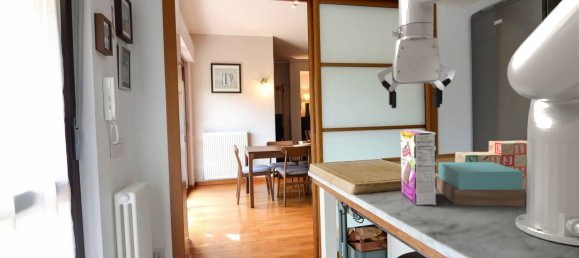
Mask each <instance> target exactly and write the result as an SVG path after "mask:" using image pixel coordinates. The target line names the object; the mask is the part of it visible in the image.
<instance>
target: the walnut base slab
mask: <svg viewBox="0 0 579 258" xmlns="http://www.w3.org/2000/svg"><path fill="white" fill-rule="evenodd" d="M436 191H438V192H439V193H440V194H441V195H442V196H444V197H445V199H447V200H449V201H450V202H451V203H452V204H453V205H454V206H455V205H457V206H459V205H460V206H492V207H493V206H495V207H497V206H502V207H525V205H526V189H523V190H459V189H457V188H455V187H454V186H452V185H450V184H449V183H447V182H445V181H444V180H442V179H440V178H439V176H436Z"/></svg>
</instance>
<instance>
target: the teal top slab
mask: <svg viewBox="0 0 579 258" xmlns="http://www.w3.org/2000/svg"><path fill="white" fill-rule="evenodd" d="M438 177H439V178H440V179H442V180H444V181H445V182H447V183H449V184H450V185H452V186H454V187H455V188H457V189H459V190H524V189H523V171H519V170H516V169H513V168H510V167H506V166H503V165H500V164H497V163H493V162H455V161H453V162H452V161H451V162H450V161H449V162H445V161H443V162H442V161H440V162H439V161H438Z"/></svg>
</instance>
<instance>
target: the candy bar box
mask: <svg viewBox="0 0 579 258" xmlns="http://www.w3.org/2000/svg"><path fill="white" fill-rule="evenodd" d="M399 132H400V133H399V135H400V136H399V138H400V140H399V141H400V167H401V170H400V171H401V173H400V174H401V175H400V180H401V183H400V185H401V194H402V195H404V197H406V198H407V199H408V200H410V202H412V203H413V204H414V205H416V206H419V207H420V206H437V203H438V202H437V145H436V144H437V142H436V141H437V138H436V137H437V133H436V132H433V131H427V130H421V129H402V130H399Z"/></svg>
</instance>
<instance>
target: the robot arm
mask: <svg viewBox="0 0 579 258" xmlns="http://www.w3.org/2000/svg"><path fill="white" fill-rule="evenodd" d="M480 1H481V0H398V28H397V29H396V30H393V31H392V33H391V36H392V37H393V38H397V40H396V41H395V45H394V51H393V57H392V65H391V66H389V67H387V68H385V69H384V70H382V71H380V72H379V73H377V75H376V76H377V79H378V81H379V82H380V84H381V86H382V87H383V88H384V89H385V90H386V91H387V92H388V106H390V107H391V109H397V91H396V88H397V87H398V86H399V85H406V84H408V85H409V84H410V85H411V84H415V85H417V84H430V85H432V87H433V88H434V90H433V94H432V95H433V96H432V98H433V99H432V104H433V105H432V107H433V108H434V109H435V108H436V109H437V108H438V109H439V108H441V105H443V90H445V88H447V86H448V85H450V84H451V83H452V80H453V78H454V77H455V75H456V70H454V69H452V68H450V67H448V66H445V65H443V64H442V63H441V55H440V54H441V53H440V47H439V41H438V38H437V37H434V4H438V5H445V6H446V7H450V8H453V9H464V8H468V7H470V6H473V5H476V4H478V2H480ZM506 72H507V73H506V75H507V80H508V82H509V85H510V87H511V88H512V89H513V90H514V91H515V92H516V93H517V94H519V95H520V96H522V97H524V98H527V99H529V100H530V105H529V110H528V117H527V130H526V134H527V135H526V136H527V137H526V138H527V139H526V141H527V189H526V197H525V205H526V207H525V208H526V209H525V211H526V213H524V214H523V213H522V214H520V215H518V216H516V217H515V226H516V227H517V228H518V229H519V230H521V231H523V232H524V233H526V234H528V235H531V236H534V237H536V238H540V239H542V240H546V241H551V242H554V243H559V244H565V245H569V246H570V245H571V246H576V247H577V246H578V247H579V0H561V1H560V2H559V3H558V4H557V5H556V6H555V7H554V8H553V10H552V11H550V12H549V14H548V15H547V16H546V17H545V18H544V19H543V21H542V22H540V23H539V25H537V27H536V28H535V29H534V30H533V31H531V33H530V34H529V35H528V37H526V39H525V40H524V41H523V42H522V43H521V44H520V45H519V46H518V48H517V49H516V50H515V51H514V53H513V55H512V56H511V58H510V61H509V62H508V66H507V70H506ZM442 73H443V74H445V75H446V76H445V78H444V79H443V80H442V81H441V80H440V79H441V75H442ZM389 74H391V77H392V83H391V84H390V83H389V82H388V81H387V80H386V78H385V77H386V76H387V75H389Z"/></svg>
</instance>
